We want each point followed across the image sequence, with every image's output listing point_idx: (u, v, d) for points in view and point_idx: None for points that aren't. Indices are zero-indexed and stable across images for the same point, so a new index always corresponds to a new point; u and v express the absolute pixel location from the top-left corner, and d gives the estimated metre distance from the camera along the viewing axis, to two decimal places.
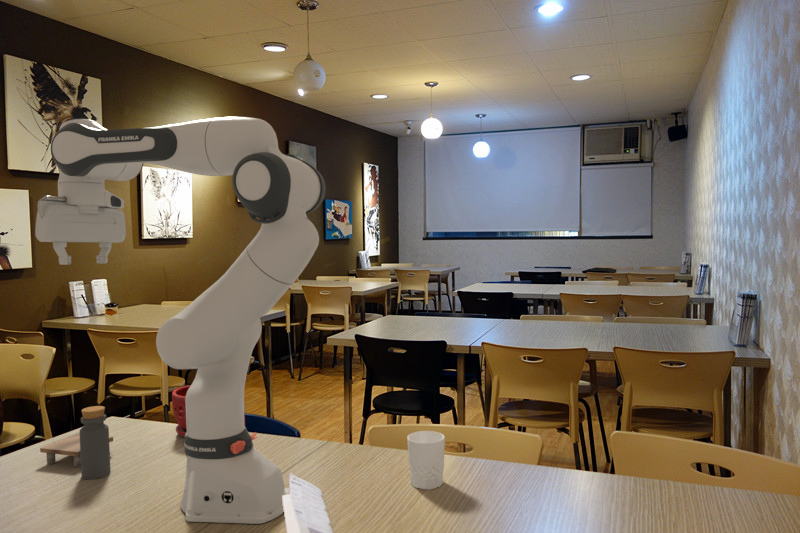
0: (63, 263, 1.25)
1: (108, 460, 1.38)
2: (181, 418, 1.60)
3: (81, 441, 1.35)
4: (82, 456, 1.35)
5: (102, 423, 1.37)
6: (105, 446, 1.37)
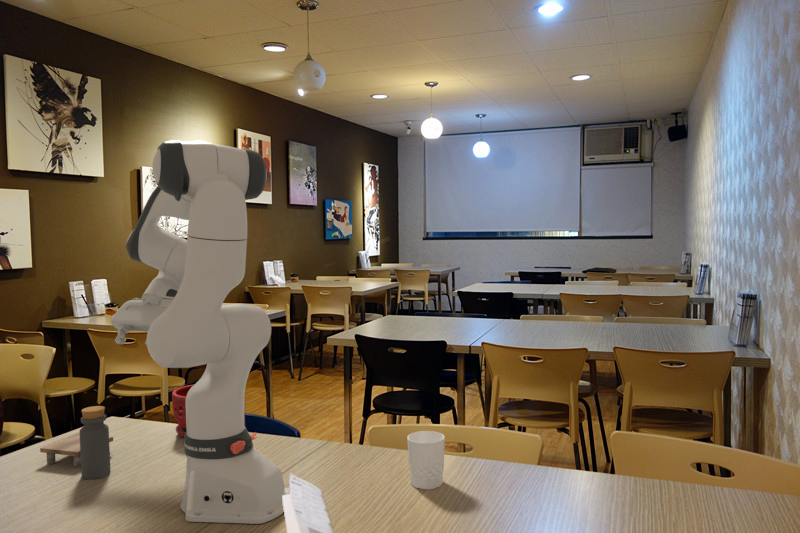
0: None
1: (108, 460, 1.38)
2: (181, 418, 1.60)
3: (81, 441, 1.35)
4: (82, 456, 1.35)
5: (102, 423, 1.37)
6: (105, 446, 1.37)
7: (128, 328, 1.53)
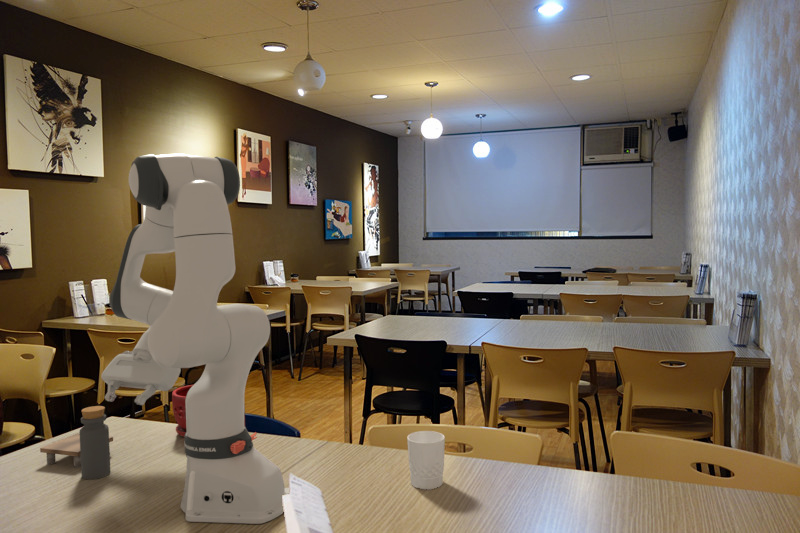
0: None
1: (108, 460, 1.38)
2: (181, 418, 1.60)
3: (81, 441, 1.35)
4: (82, 456, 1.35)
5: (102, 423, 1.37)
6: (105, 446, 1.37)
7: (118, 384, 1.50)
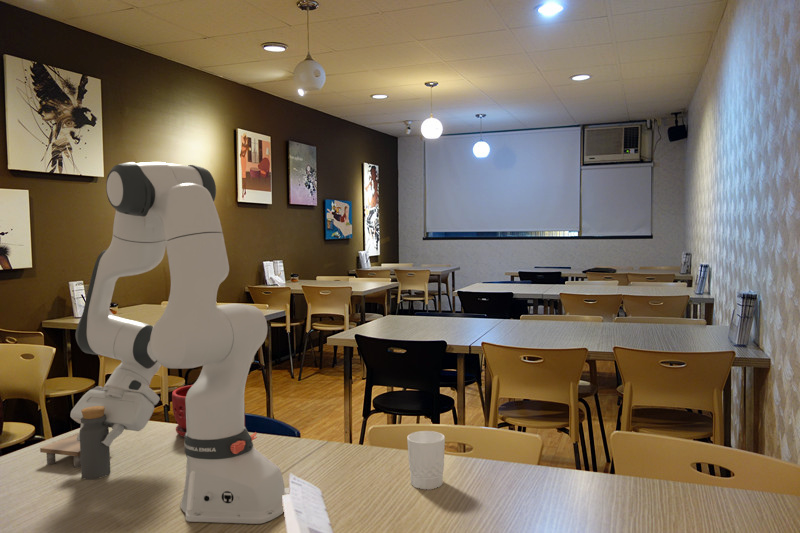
0: None
1: (108, 460, 1.38)
2: (181, 418, 1.60)
3: (81, 441, 1.35)
4: (82, 456, 1.35)
5: (102, 423, 1.37)
6: (105, 446, 1.37)
7: None
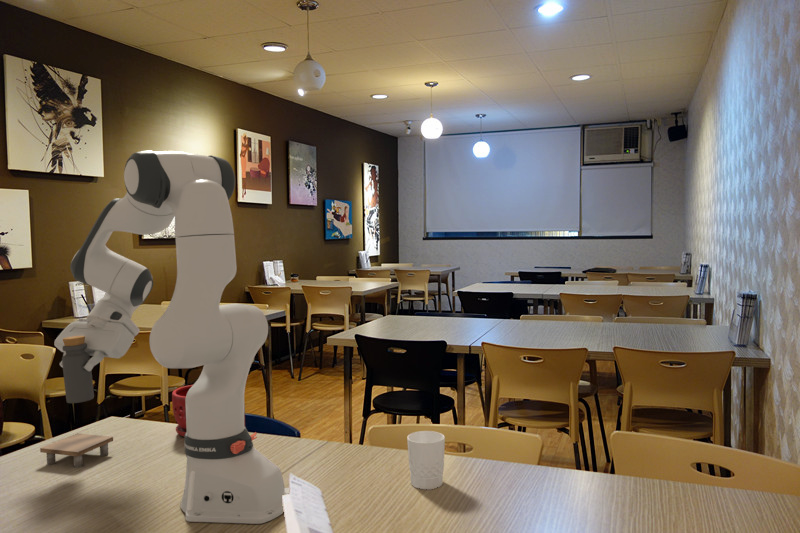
0: None
1: (91, 385, 1.45)
2: (181, 418, 1.60)
3: (64, 367, 1.42)
4: (66, 381, 1.42)
5: (83, 350, 1.45)
6: (87, 372, 1.44)
7: None
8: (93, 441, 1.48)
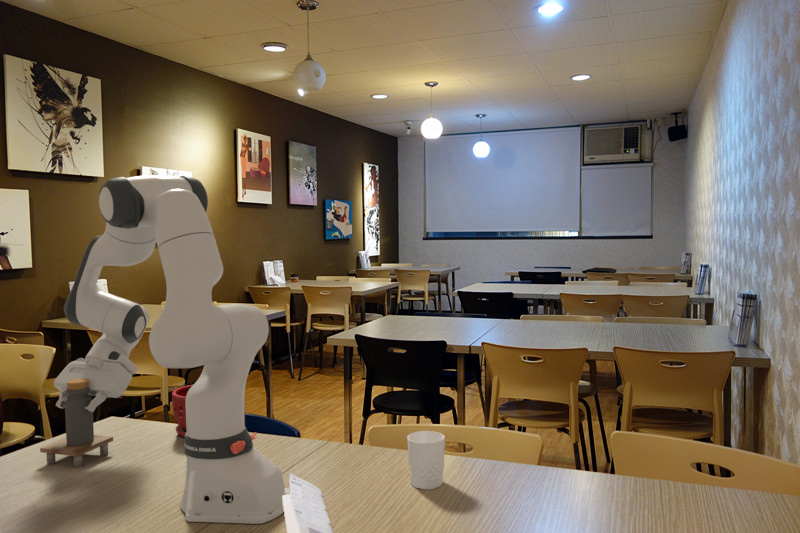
0: None
1: (92, 429, 1.47)
2: (181, 418, 1.60)
3: (66, 411, 1.45)
4: (67, 425, 1.45)
5: (86, 394, 1.47)
6: (89, 415, 1.47)
7: None
8: (93, 441, 1.48)
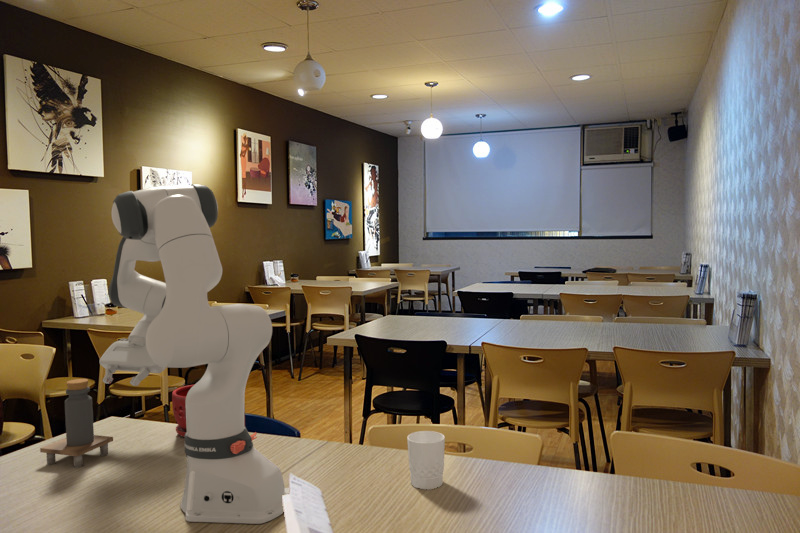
0: None
1: (91, 429, 1.47)
2: (181, 418, 1.60)
3: (66, 411, 1.45)
4: (67, 425, 1.45)
5: (86, 394, 1.47)
6: (89, 416, 1.46)
7: (115, 368, 1.64)
8: (93, 441, 1.48)
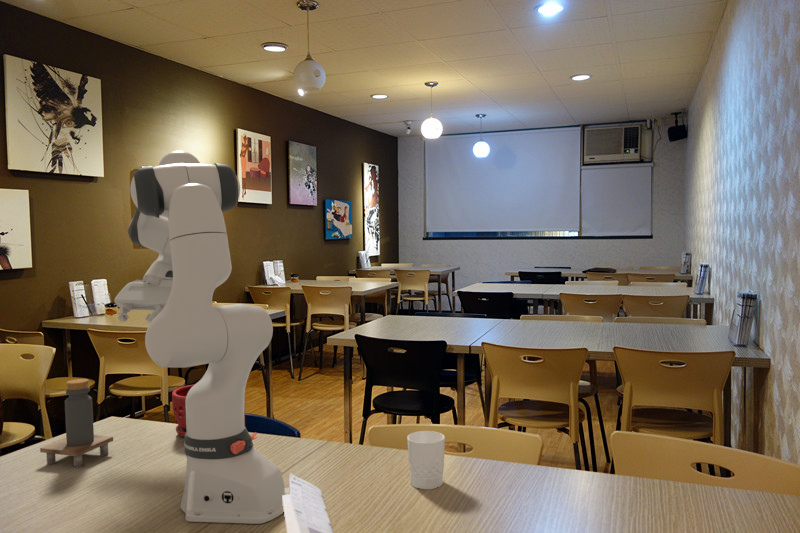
0: None
1: (92, 429, 1.47)
2: (181, 418, 1.60)
3: (66, 411, 1.45)
4: (67, 425, 1.45)
5: (86, 394, 1.47)
6: (89, 416, 1.46)
7: (130, 307, 1.65)
8: (93, 441, 1.48)
